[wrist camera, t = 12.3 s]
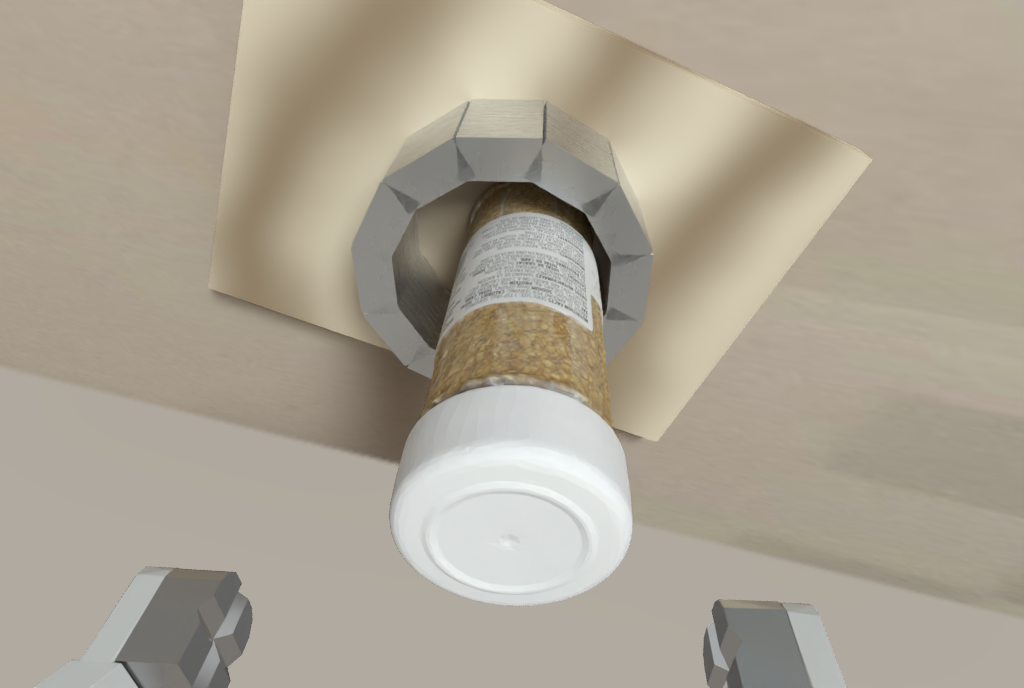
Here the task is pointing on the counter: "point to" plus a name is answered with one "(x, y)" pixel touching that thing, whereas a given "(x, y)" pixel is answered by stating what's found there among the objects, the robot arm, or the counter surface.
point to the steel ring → (504, 158)
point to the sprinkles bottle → (517, 417)
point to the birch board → (444, 221)
